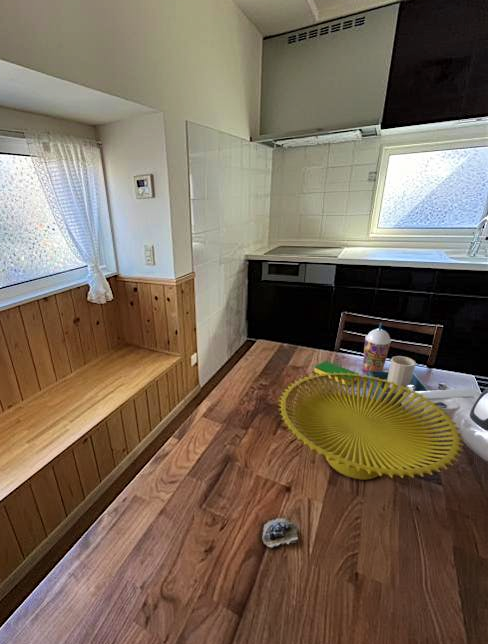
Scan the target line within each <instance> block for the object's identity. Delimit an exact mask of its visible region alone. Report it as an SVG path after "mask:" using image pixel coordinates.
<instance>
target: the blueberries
mask: <svg viewBox="0 0 488 644" xmlns="http://www.w3.org/2000/svg"><path fill="white" fill-rule="evenodd" d="M289 521H290V520H289V518H288V517H278V518H277V517H276V518H275V519H274V518H273V519H272V520H268V521H267V522H266V523H264V525H263V527H262V531H263V532H262V536H261V540H262V542H263V544H264V545H266V546H267V547H269V548H274V547H279V546H280V545H281V544H282V546H283V545H284V544H286V545H290V543H291V544H295V543H297V542H298V540H299V534H298V527H297V526H294V523H293V522H289Z"/></svg>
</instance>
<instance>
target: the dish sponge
mask: <svg viewBox="0 0 488 644" xmlns="http://www.w3.org/2000/svg"><path fill="white" fill-rule="evenodd" d="M328 372H329V373H334V372H335V373H341V372H342V373H346V374H348V372H349V373H350V374H355V373H356V374H358V375H360V374H359V372H356V371H353V370H350V369H348V368H346V367H343V366H341V365H338V364H334V363H332V362H329V361H327V360H324V361H322V362H320V363H319V364H317V365H316V366H314V373H315V374H318V375H321V374H322V373H323V374H328ZM328 376H329V380H330V379H331V380H332V378H331V376H330V375H328ZM341 379H342V384H343V386H345V381H344V376H343V375H341ZM335 380H336V383H337V382H338V383H339V381H338V378H337V375H335ZM355 382H357V376H355V378H354V383H355ZM348 386H349V387H350V386H351V379H350V375H348Z"/></svg>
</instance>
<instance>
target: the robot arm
mask: <svg viewBox="0 0 488 644" xmlns="http://www.w3.org/2000/svg"><path fill="white" fill-rule="evenodd" d="M407 387H409V388H408V389H409V390H411V391H415V389H416V387H414V386H413V385H407ZM437 388H438V389H437V390H430V391H418V392H417V391H416V393H417V394H421V395H423V396H422V397H424V398H429V399H430V400H429V401H430V402H433V403H436V404H435V405H436V406H437V407H442V409H441V410H442V411H444V412H447V414H446V415H447V416H449V417H452V419H450V420H451V421H452V422H455V423H456V424H454V426H455V427H457V428H460V429H459V430H456V431H457V432H459V433H461V434H462V435H458V437H460V438H461V439H464V440H462V441H463V443H464V445H466V447H467V448H469V449H470V450H471V451H472V452H473V453H474V454H476V455H477V456H478V457H479V458H481V459H482V460H483V461H485V462H487V463H488V387H487V388H485V389H484V390H483V391H482V392H481V393H480V392H479V391H477V390H476V389H473V388H457V387H454V386H451V385H448V384H447V383H446V382H442V383H439V382H438V385H437ZM405 393H406V392H405ZM405 393H404V394H405ZM404 394H403V395H404ZM413 395H414V394H413V393H411V394H410V395H409V396H408V397H407V398H406V399H404V400H403V401H402V402H401V404H402V405H403V404H404V403H405V402H407V401H408V400H409V399H410V398H411V397H412V396H413ZM419 399H420V397H417V398H416V399H414V400H413V401H412V402H410V403H409V404H408V405H407V406H406V407H405V408H404V410H405V409H407V408H408V407H410V406H411V405H412V404H414V403H415V402H416V401H418V400H419ZM426 402H427V401H423V402H421V403H420V404H418V405H417V406H415V407H414V408H412V409H411V410H410V411H408V413H410V412H412V411H414V410H416V409H417V408H419V407H420V406H422V405H423V404H425V403H426ZM430 407H432V405H429V406H427V407H425V408H423V409H422V410H420V411H418V412H416V413H415V414H413V415H412V416H415V415H417V414H420V413H421V412H423V411H425V410H427V409H429V408H430ZM437 411H438V410H437V409H436V410H433V411H431V412H429V413H426V414H424V415H422V416H420V417H418V418H417V419H420V418H423V417H426V416H428V415H431V414H433V413H435V412H437ZM440 416H442V415H441V414H439V415H436V416H434V417H431V418H429V419H426V420H424V421H421V422H420V423H423V422H427V421H430V420H433V419H435V418H438V417H440ZM444 421H446V419H443V420H439V421H436V422H433V423H430V424H427V425H424V426H430V425H435V424H438V423H441V422H444ZM424 426H423V427H424ZM447 426H449V424H446V425H442V426H437V427H434V428H433V429H439V428H443V427H447ZM450 431H451V429H449V430H445V432H450Z"/></svg>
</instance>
